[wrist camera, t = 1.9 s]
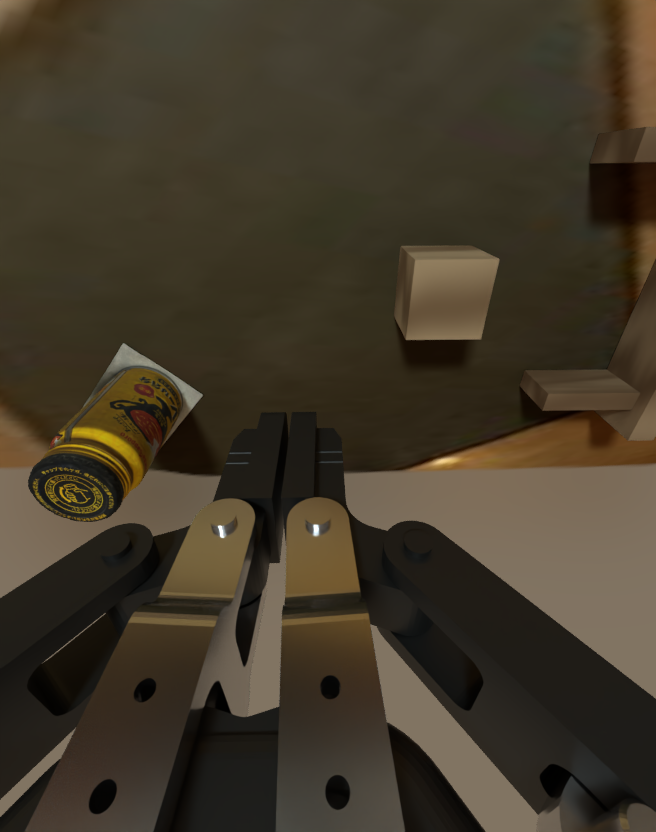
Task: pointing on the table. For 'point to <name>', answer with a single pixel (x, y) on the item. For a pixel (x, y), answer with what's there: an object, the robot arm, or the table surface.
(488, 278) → the block
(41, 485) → the condiment
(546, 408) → the wooden plank
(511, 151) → the table surface
